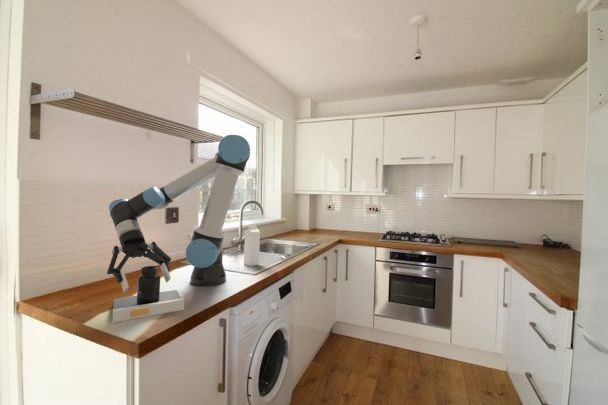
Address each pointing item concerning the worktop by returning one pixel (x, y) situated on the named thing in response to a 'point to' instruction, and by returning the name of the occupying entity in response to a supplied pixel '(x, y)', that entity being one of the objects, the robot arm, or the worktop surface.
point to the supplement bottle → (148, 286)
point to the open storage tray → (146, 306)
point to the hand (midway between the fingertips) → (148, 284)
